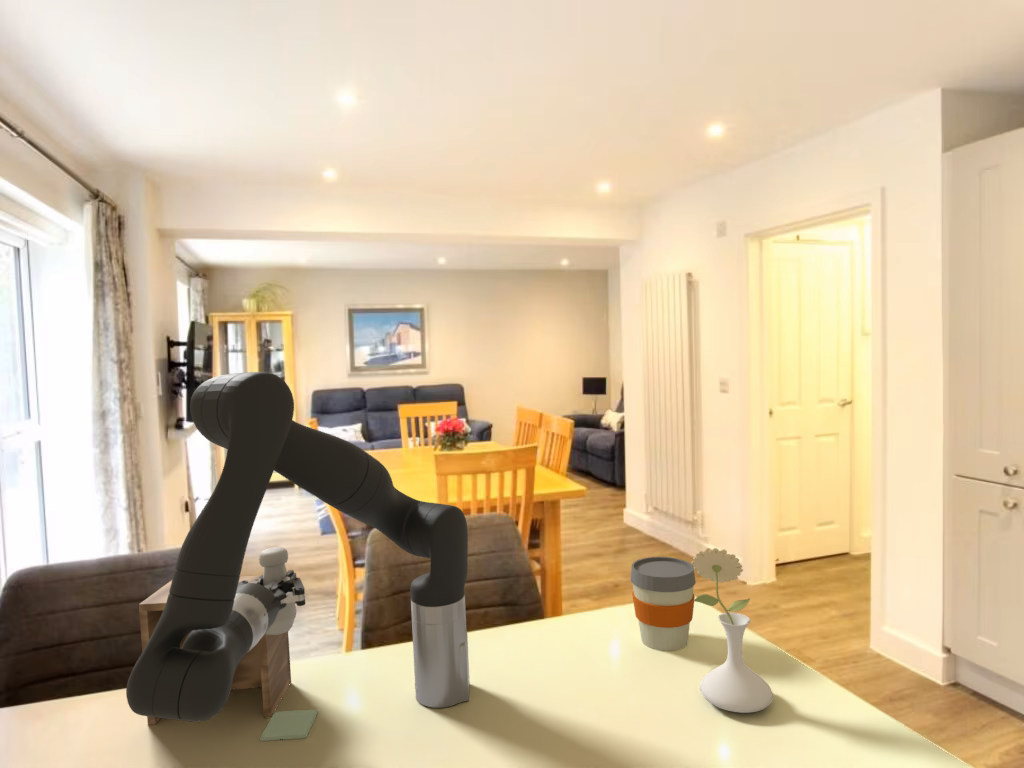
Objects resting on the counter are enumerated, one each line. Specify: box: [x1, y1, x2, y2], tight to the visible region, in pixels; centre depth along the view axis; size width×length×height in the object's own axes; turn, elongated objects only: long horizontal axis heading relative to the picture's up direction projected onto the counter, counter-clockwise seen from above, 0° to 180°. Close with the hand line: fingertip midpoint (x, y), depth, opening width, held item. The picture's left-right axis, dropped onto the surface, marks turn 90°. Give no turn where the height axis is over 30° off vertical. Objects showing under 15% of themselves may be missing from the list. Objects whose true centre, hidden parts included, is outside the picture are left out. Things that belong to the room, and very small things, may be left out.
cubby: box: [138, 574, 292, 726], centre depth 111 cm, size 20×11×20 cm, turn 92°
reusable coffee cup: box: [630, 556, 697, 652], centre depth 128 cm, size 13×13×15 cm
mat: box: [259, 708, 319, 742], centre depth 104 cm, size 7×7×1 cm
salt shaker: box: [258, 546, 297, 635], centre depth 102 cm, size 6×6×13 cm
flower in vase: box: [690, 547, 774, 714], centre depth 106 cm, size 13×11×25 cm
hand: (280, 576), depth 105 cm, fingers closed on salt shaker, 3 cm apart
